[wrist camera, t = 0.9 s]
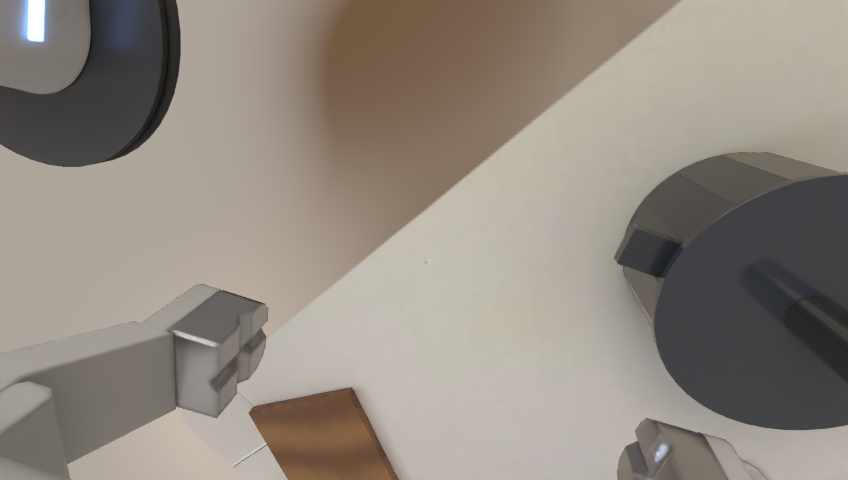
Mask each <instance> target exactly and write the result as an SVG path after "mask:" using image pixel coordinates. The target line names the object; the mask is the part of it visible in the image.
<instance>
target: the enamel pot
mask: <svg viewBox="0 0 848 480" xmlns="http://www.w3.org/2000/svg"><path fill="white" fill-rule="evenodd" d="M827 173H837V171H834V170H830V169H826V168H823V167H819V166H816V165H812V164H808V163H805V162H801V161H798V160H794V159H791V158H787V157H783V156H780V155H776V154H773V153H768V152H762V153H756V152H740V153H732V154H724V155H720V156H715V157H711V158H708V159H705V160H702V161H699V162H696V163H694V164H692V165H690V166H688V167H685V168H683V169H681V170H680V171H678V172H676V173H675V174H673V175H672V176H670V177H668V178H667V179H666V180H664V181H663V182H662V183H661V184H659V185H658V186H657V187H656V188H655V189H654V190H653V191H652V192H651V193H650V194H649V195H648V196H647V197H646V198H645V199H644V201H643V202H642V203H641V204H640V206H639V207H638V208H637V210H636V212H635V213H634V215H633V217H632V219H631V221H630V223H629V225H628V227H627V230H626V234H625V237H624V239H623V241H622V243H621V245H620V247H619V249H618V251H617V252H616V254H615V256H614V259H615V260H616V262H617V263H618V264H620V265H623V272H624V275H625V277H626V280H627V283H628V285H629V287H630V289H631V291H632V293H633V296H634V298H635V300H636V302H637V304H638V306H639V307H640V309H641V311H642V313H643V314H644V316H645V318H646V320H647V322H648V323H649V325H650V327H651V329H652V326H651V319H652V305H653V300H654V295H655V292H656V289H657V286H658V283H659V280H660V278H661V276H662V274H663V272H664V270H665V268H666V266H667V264H668V263H669V261H670V260H671V258H672V257H673V255H674V254H675V252H676V251H677V250H678V248H679V247H680V246H681V245H682V244H683V243H684V242H685V240H686V239H687V238H688V237H689V236H690V235H691V234H692V233H693V232H694V231H695V230H696V229H698V228H699V227H700V226H701V225H702V224H703V223H704V222H705V221H707V220H708V219H709V218H711V217H712V216H714V215H715V214H716V213H718V212H719V211H721V210H722V209H724V208H725V207H727V206H729V205H731V204H732V203H734V202H736V201H738V200H739V199H741V198H743V197H745V196H747V195H750V194H752V193H754V192H757V191H759V190H761V189H763V188H766V187H769V186H772V185H775V184H778V183H781V182H785V181H788V180H792V179H797V178H801V177H806V176H811V175H818V174H827Z"/></svg>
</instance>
